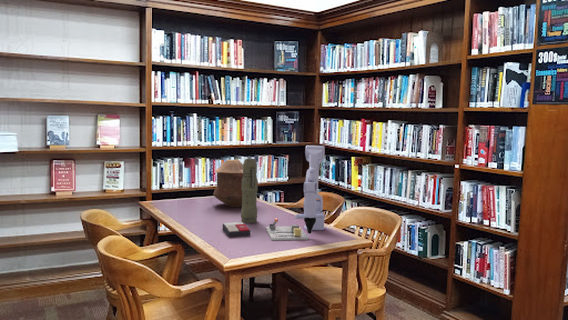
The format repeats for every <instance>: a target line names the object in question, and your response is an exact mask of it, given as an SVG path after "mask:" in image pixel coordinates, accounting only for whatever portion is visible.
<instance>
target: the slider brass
mask: <svg viewBox="0 0 568 320" xmlns="http://www.w3.org/2000/svg"><path fill="white" fill-rule="evenodd" d="M300 228H301V227H300ZM300 228H294V235H295V236H301V229H302V228H301V229H300Z"/></svg>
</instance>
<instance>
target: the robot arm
mask: <svg viewBox="0 0 568 320" xmlns="http://www.w3.org/2000/svg"><path fill="white" fill-rule="evenodd" d="M325 148H326V147H325V146H324V145H306V146H305V150H304V154H305V160H306V161H307V162H308V163H309V167H308V169H307V170H306V175H305V181H304V183H303V196H304V198H303V211H304V212H303V213H298V214H296V213H295V214H294V219H295V220H301V219H302V220H304V223H305V225H303V227H304V229H305V230H306V231H307V235H308V234H312V231H324V230H325V218H326V216H325V215H326V214H324V211H323V205H324V204H323V203H324V200H323V199H324V198H323V196H322V195H321V194H319V176H320V175H319V174H320V172H319V171H320V165H321V163H323V162H324V161H325V153H326V152H325Z"/></svg>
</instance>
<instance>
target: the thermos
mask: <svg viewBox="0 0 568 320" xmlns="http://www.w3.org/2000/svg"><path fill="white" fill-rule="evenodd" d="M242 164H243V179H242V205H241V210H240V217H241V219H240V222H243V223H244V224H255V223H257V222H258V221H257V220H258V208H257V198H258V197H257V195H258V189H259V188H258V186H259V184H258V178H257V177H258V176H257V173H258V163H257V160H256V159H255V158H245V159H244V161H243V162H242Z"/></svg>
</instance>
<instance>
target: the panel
mask: <svg viewBox="0 0 568 320" xmlns="http://www.w3.org/2000/svg"><path fill="white" fill-rule="evenodd" d="M272 225H273V223H269V226H265V231H266V232H267V234H268V237H269V238H270V240H271V241H306V240H307V241H308V240H309V236H308V234H306V232H305V230H303V229H302V228H301V226H300V225H298V224H294V225H298V228H300V229H301V236H295V235H294V232H292V231H291V225H290V226H287V225H284V226H283V225H282V226H281V225H279V226H276V225H275V226H272Z"/></svg>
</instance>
